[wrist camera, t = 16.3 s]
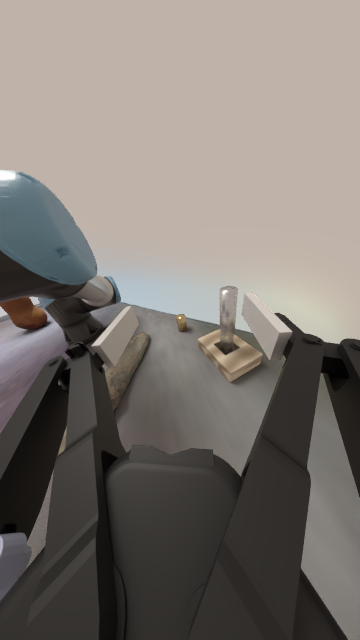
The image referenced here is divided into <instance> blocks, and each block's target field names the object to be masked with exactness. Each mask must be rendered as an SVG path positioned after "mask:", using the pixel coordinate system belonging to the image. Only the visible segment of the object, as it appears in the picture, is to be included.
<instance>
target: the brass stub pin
mask: <svg viewBox="0 0 360 640" xmlns="http://www.w3.org/2000/svg"><path fill="white" fill-rule="evenodd" d="M176 320H177V324H178V329H179V331H180V332H184V331H186V330H187V324H186V318H185V315H184V314H179V315H177V316H176Z"/></svg>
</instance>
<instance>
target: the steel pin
mask: <svg viewBox="0 0 360 640" xmlns="http://www.w3.org/2000/svg"><path fill="white" fill-rule="evenodd" d="M237 291H238V288H236V287H233V286H227V287H222V288H221V289H220V351H221V352H222V353H223V354H224V355H225V356H226V355H228V354H229V353H231V352H233V347H234V333H235V319H236V306H237Z"/></svg>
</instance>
